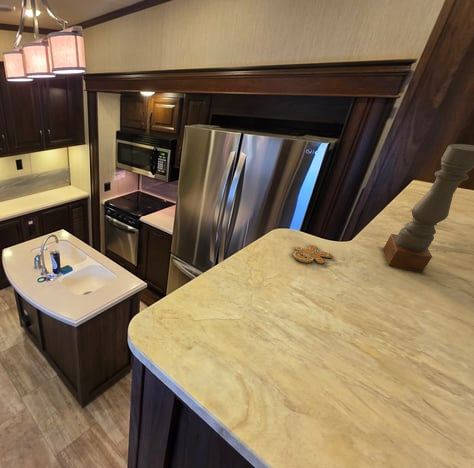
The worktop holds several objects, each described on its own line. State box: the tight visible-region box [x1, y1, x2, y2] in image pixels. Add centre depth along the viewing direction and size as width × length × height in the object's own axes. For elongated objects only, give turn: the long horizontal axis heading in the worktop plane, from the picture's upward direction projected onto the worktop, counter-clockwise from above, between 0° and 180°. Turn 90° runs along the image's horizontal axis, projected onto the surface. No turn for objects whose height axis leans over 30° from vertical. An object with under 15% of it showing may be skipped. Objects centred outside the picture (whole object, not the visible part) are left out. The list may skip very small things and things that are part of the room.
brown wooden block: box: [383, 233, 433, 274], centre depth 76 cm, size 6×9×5 cm
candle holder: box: [395, 143, 474, 251], centre depth 68 cm, size 6×6×25 cm
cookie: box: [292, 244, 334, 264], centre depth 80 cm, size 8×1×10 cm
